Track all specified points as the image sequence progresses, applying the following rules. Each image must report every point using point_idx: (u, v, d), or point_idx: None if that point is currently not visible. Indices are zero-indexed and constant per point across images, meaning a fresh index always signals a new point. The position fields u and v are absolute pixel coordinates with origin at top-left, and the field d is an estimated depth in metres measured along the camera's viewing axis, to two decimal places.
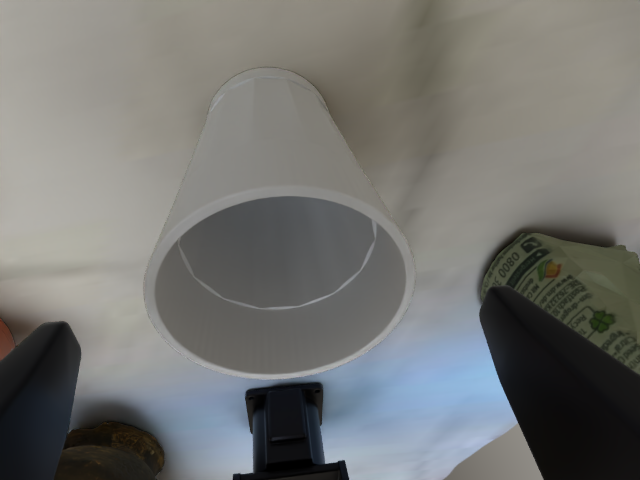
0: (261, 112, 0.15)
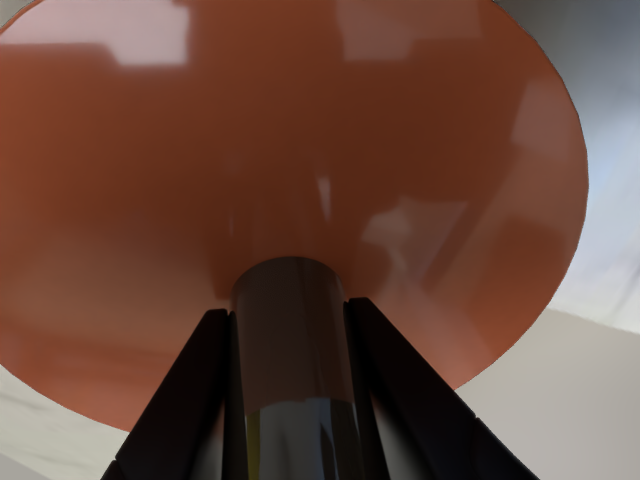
0: None
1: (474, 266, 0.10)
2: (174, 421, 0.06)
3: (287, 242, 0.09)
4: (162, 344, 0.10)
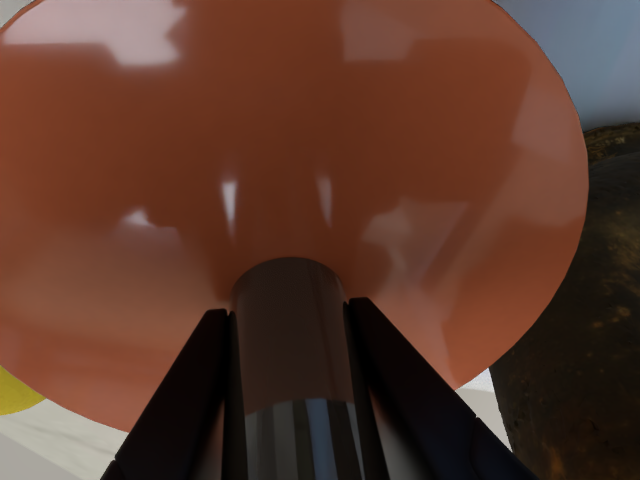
0: None
1: (474, 267, 0.10)
2: (174, 421, 0.06)
3: (287, 243, 0.09)
4: (162, 345, 0.10)
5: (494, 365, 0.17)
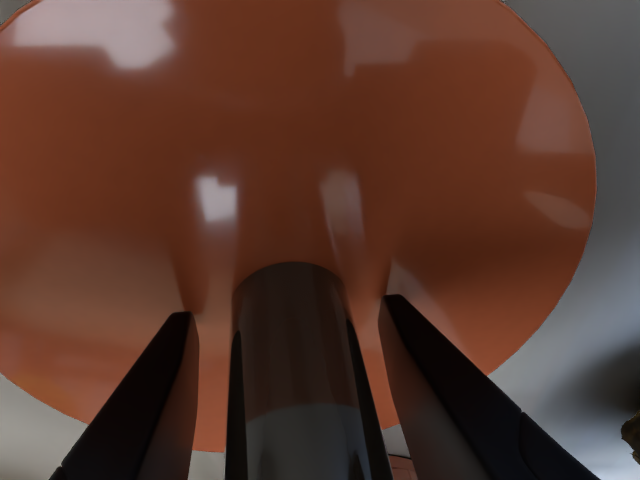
0: None
1: (479, 271, 0.10)
2: (125, 426, 0.06)
3: (290, 247, 0.09)
4: None
5: None
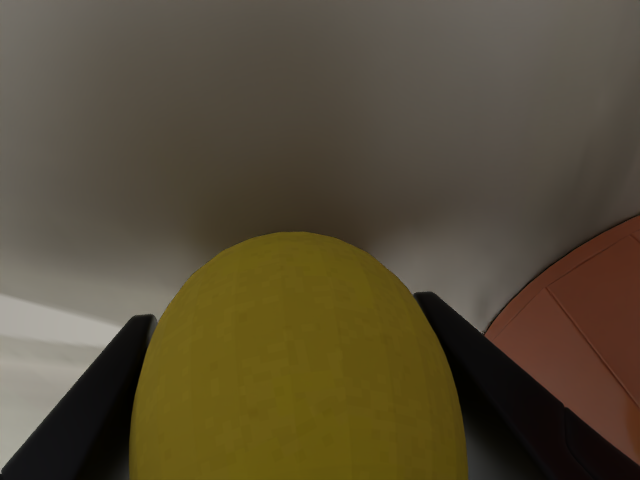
0: None
1: None
2: (70, 432, 0.06)
3: None
4: None
5: None
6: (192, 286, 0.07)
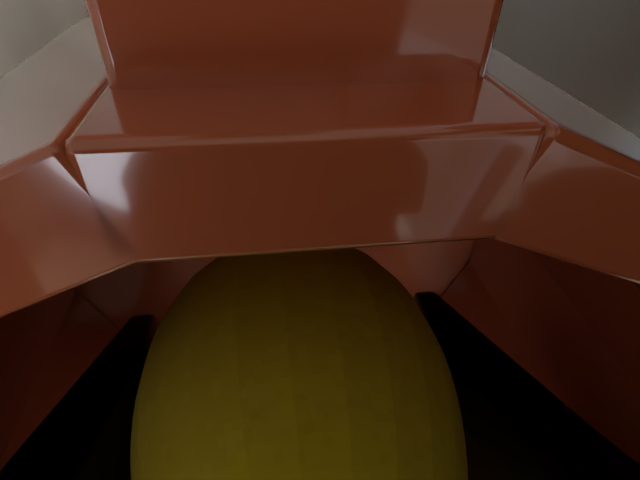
0: None
1: None
2: (70, 432, 0.06)
3: None
4: None
5: None
6: (193, 288, 0.07)
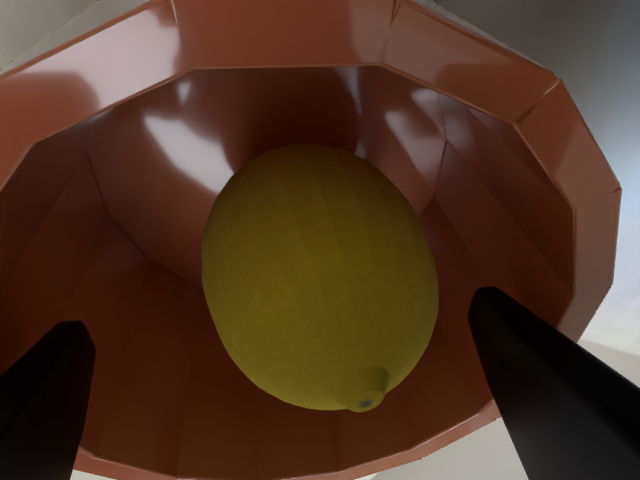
0: None
1: None
2: None
3: None
4: None
5: None
6: (238, 176, 0.10)
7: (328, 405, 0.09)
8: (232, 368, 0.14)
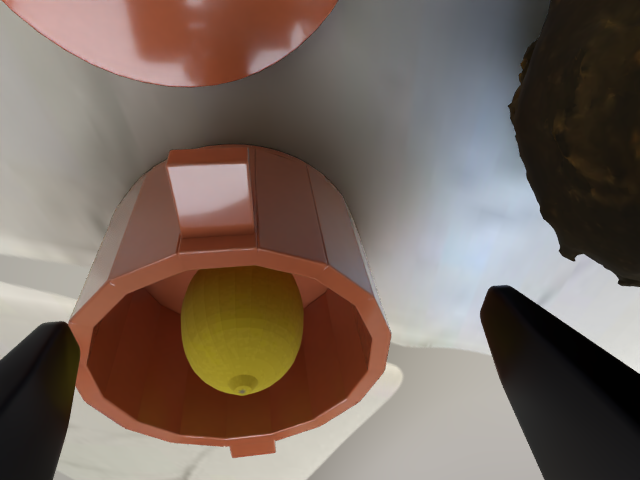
0: None
1: None
2: None
3: None
4: None
5: None
6: None
7: (229, 391, 0.18)
8: None
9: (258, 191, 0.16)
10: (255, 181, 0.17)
